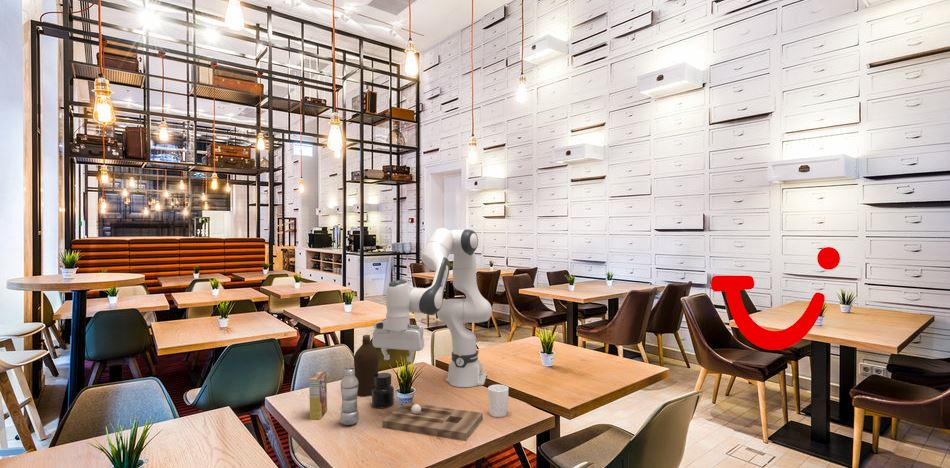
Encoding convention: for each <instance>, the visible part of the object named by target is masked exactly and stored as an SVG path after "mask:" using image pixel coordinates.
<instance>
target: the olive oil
mask: <svg viewBox="0 0 950 468" xmlns="http://www.w3.org/2000/svg"><path fill="white" fill-rule="evenodd" d="M361 339H362V341H361V342H362V344H361V345H360V347H358V349H356V352H355V354H354V356H353V366H354V367H353V368H354V369H355V374H354V376H355V377H356V378H357V380H358V382H359V384H358V392H357V397H358V396H359V397H370V396H371V397H372V388H373V387H374V386H375V385H374V376H375V375H376V374H378V373H379V365H380V364H379V363H380V360H379V359H380V357H379V352H378V350H377V348H375V347H374V346H373V344H372V343H371V335H370V334H364V335H362V338H361Z"/></svg>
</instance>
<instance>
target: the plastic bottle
mask: <svg viewBox="0 0 950 468" xmlns="http://www.w3.org/2000/svg"><path fill="white" fill-rule="evenodd" d="M343 370H344V372H343V375H344V376H343V378H342V379H341V381H340V390H341V391H340V392H341V399H342V400H341V409H340V410H341V411H340V415H339V418H340V422H341V425H344V426H352V425H355V424H356V423H358V421H359V414H360V413H359V408H358V395H357V392H358V384H359V382H358V380H357V378H356V377H355V369H354V367H345V368H344V369H343Z"/></svg>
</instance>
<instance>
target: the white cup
mask: <svg viewBox="0 0 950 468" xmlns="http://www.w3.org/2000/svg"><path fill="white" fill-rule="evenodd" d="M487 395H488V396H487V397H488V406H489V409H488V410H489V411H488V412H489V415H490V416H492V417H494V418H503V417H506V416H507V415H508V407H509V406H508V405H509V386H507V385H505V384H492V385H489V386H488V387H487Z"/></svg>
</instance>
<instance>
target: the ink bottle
mask: <svg viewBox="0 0 950 468" xmlns="http://www.w3.org/2000/svg"><path fill="white" fill-rule="evenodd" d="M374 385H375V386H374V387H373V388H372V395H371V406H372V407H373V408H375V409H385V408H386V409H387V408H390V407H392V406H393V405H394V403H395V388H394V386H393V385H392V374H391V373H389V372H378V374H376V375H375V376H374Z"/></svg>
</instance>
